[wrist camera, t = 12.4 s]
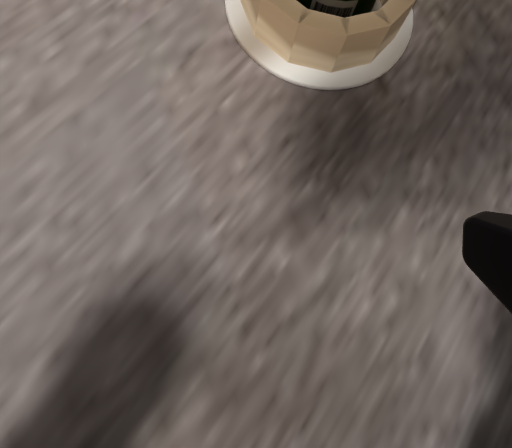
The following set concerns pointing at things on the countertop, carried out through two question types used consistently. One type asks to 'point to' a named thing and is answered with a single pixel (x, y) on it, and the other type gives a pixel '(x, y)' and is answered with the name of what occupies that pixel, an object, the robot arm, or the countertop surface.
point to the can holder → (321, 41)
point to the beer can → (339, 6)
